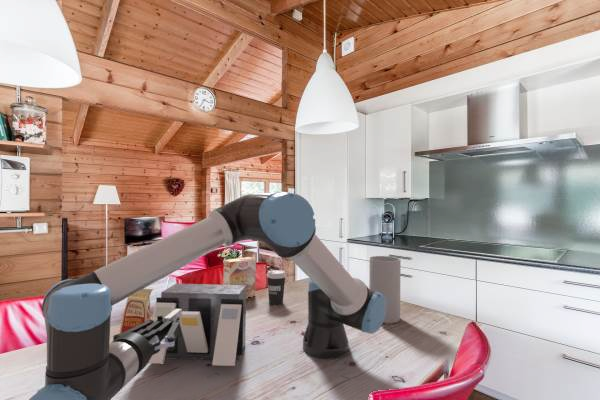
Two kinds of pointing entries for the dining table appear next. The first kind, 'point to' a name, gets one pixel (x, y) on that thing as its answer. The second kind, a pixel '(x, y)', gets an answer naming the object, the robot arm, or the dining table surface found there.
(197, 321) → the cream flat slab
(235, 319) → the cream flat slab
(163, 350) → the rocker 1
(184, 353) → the card holder crate
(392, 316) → the cylinder vase
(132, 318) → the milk carton
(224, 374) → the dining table surface
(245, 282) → the coffeecake box
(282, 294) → the coffee cup
